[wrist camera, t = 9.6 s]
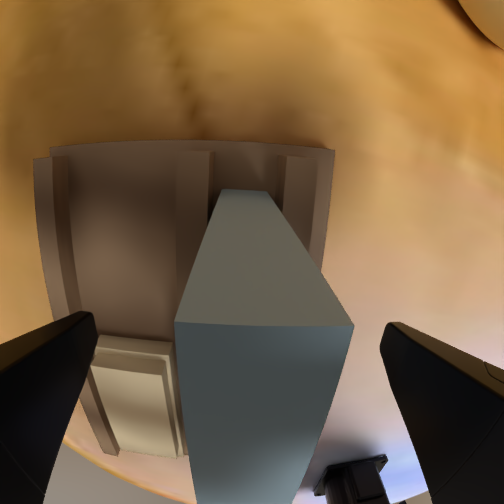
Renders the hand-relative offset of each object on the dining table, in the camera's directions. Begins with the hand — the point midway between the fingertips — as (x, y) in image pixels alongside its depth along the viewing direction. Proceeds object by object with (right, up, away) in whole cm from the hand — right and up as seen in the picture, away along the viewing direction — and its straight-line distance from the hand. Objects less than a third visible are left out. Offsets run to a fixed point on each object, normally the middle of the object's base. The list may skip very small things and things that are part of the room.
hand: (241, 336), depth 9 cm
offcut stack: (-7, -7, +9) cm, 13 cm away
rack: (-4, -3, +9) cm, 10 cm away
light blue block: (0, +2, +6) cm, 7 cm away
